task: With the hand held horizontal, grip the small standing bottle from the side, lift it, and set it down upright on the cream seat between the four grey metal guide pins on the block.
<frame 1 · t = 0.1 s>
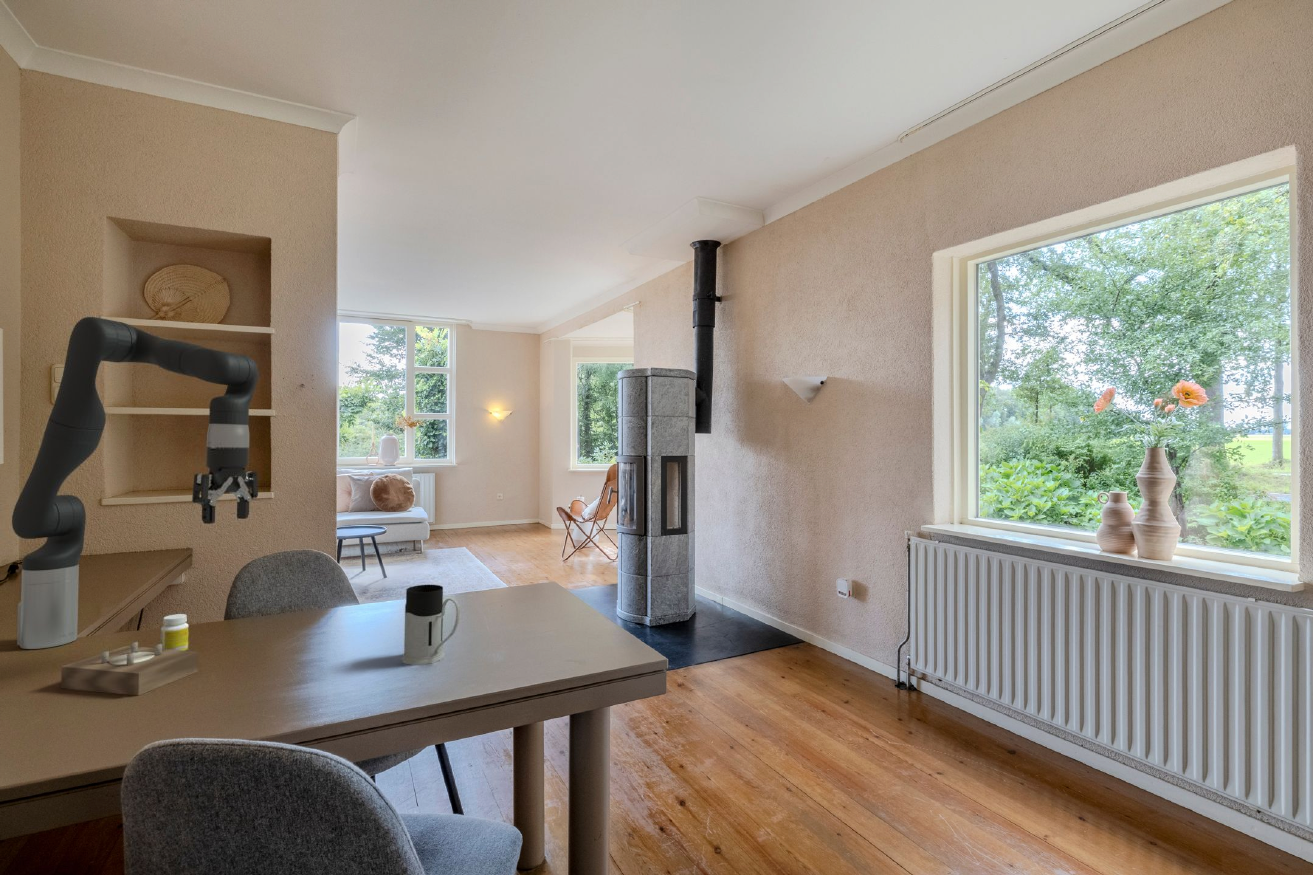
hand: (226, 520, 133), 29 cm above the table, fingers open, 8 cm apart
supplement bottle: (174, 656, 134), on the table
glass holder: (432, 660, 133), on the table
seat block: (131, 679, 120), on the table
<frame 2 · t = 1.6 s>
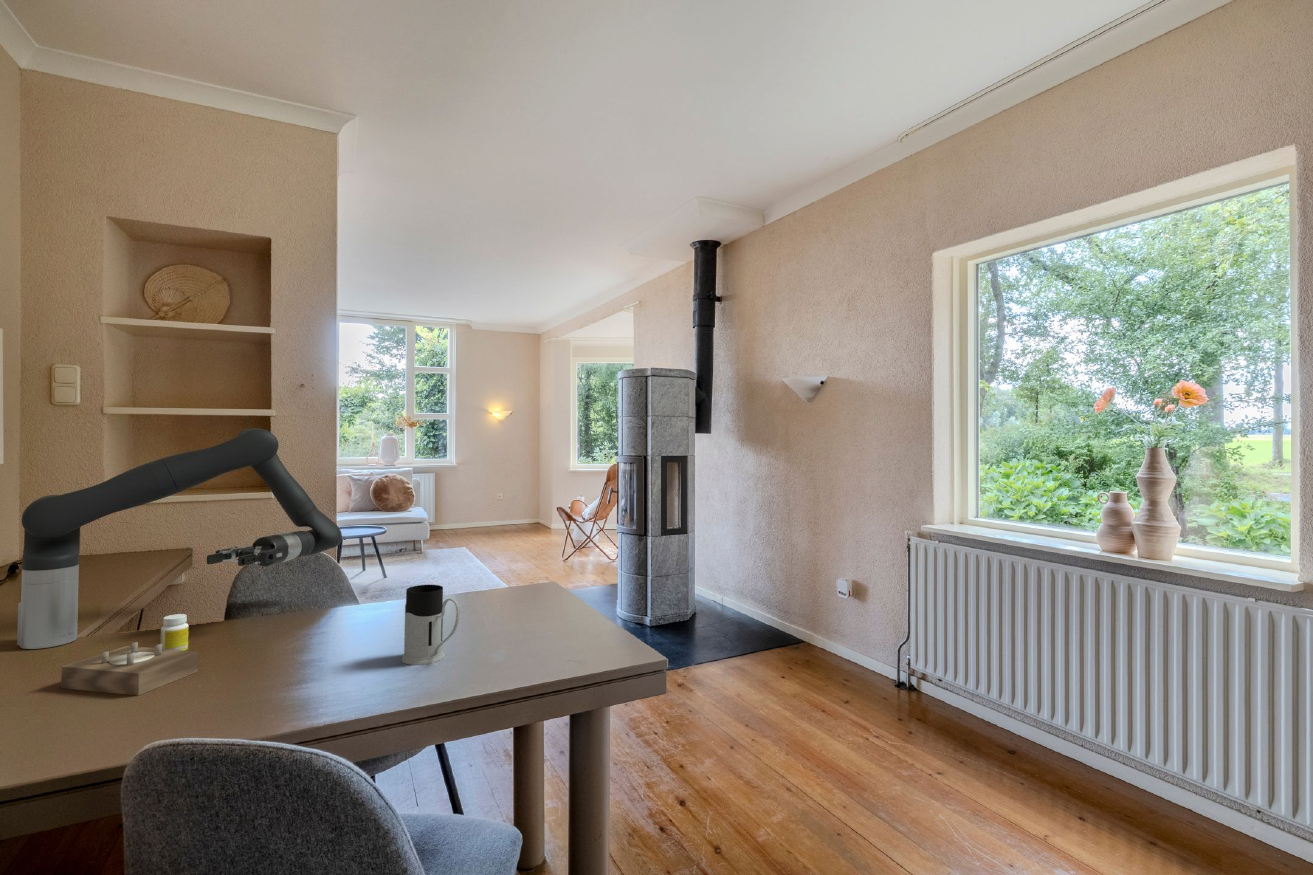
hand: (223, 560, 145), 18 cm above the table, fingers open, 8 cm apart
nothing on the table moved.
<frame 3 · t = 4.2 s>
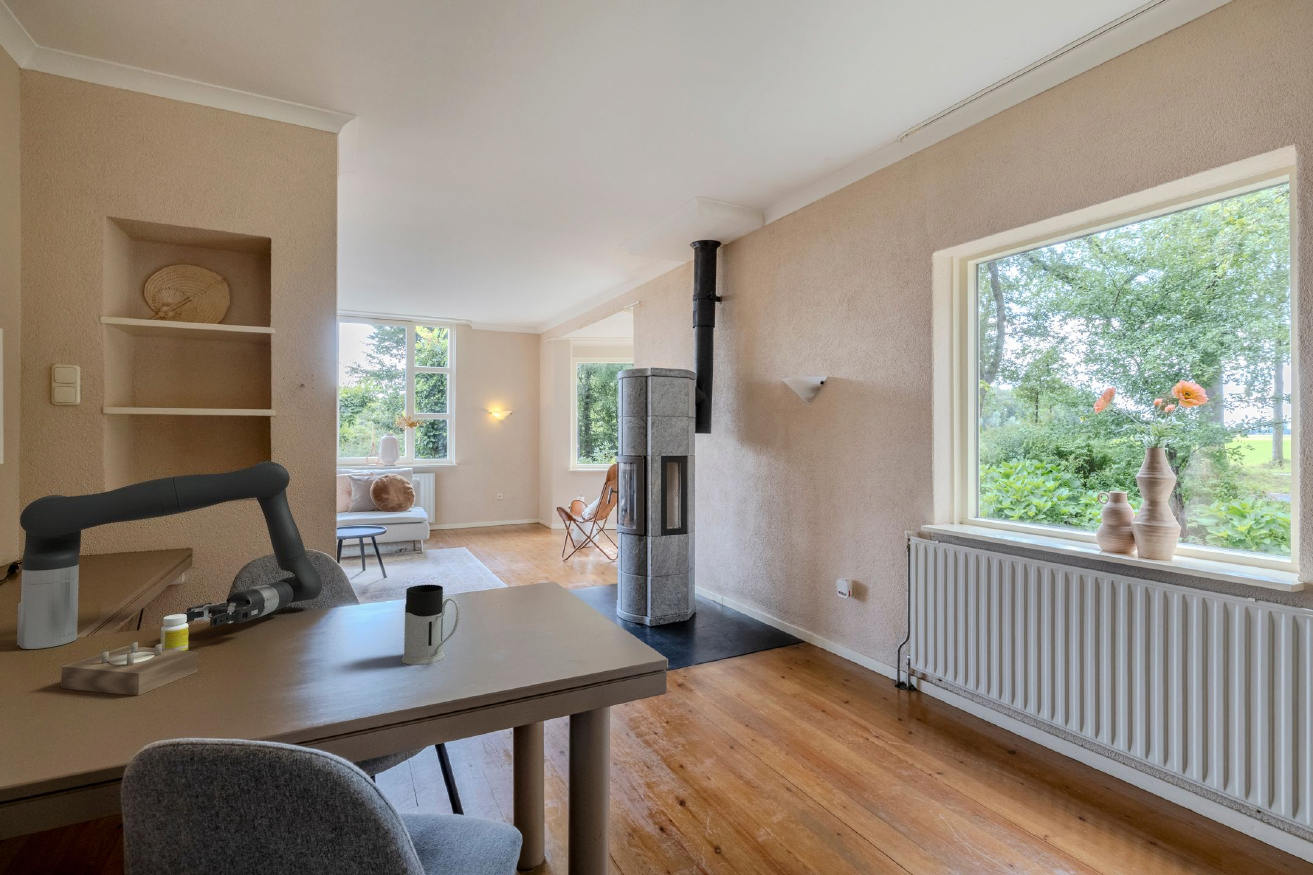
hand: (194, 621, 138), 6 cm above the table, fingers open, 8 cm apart
nothing on the table moved.
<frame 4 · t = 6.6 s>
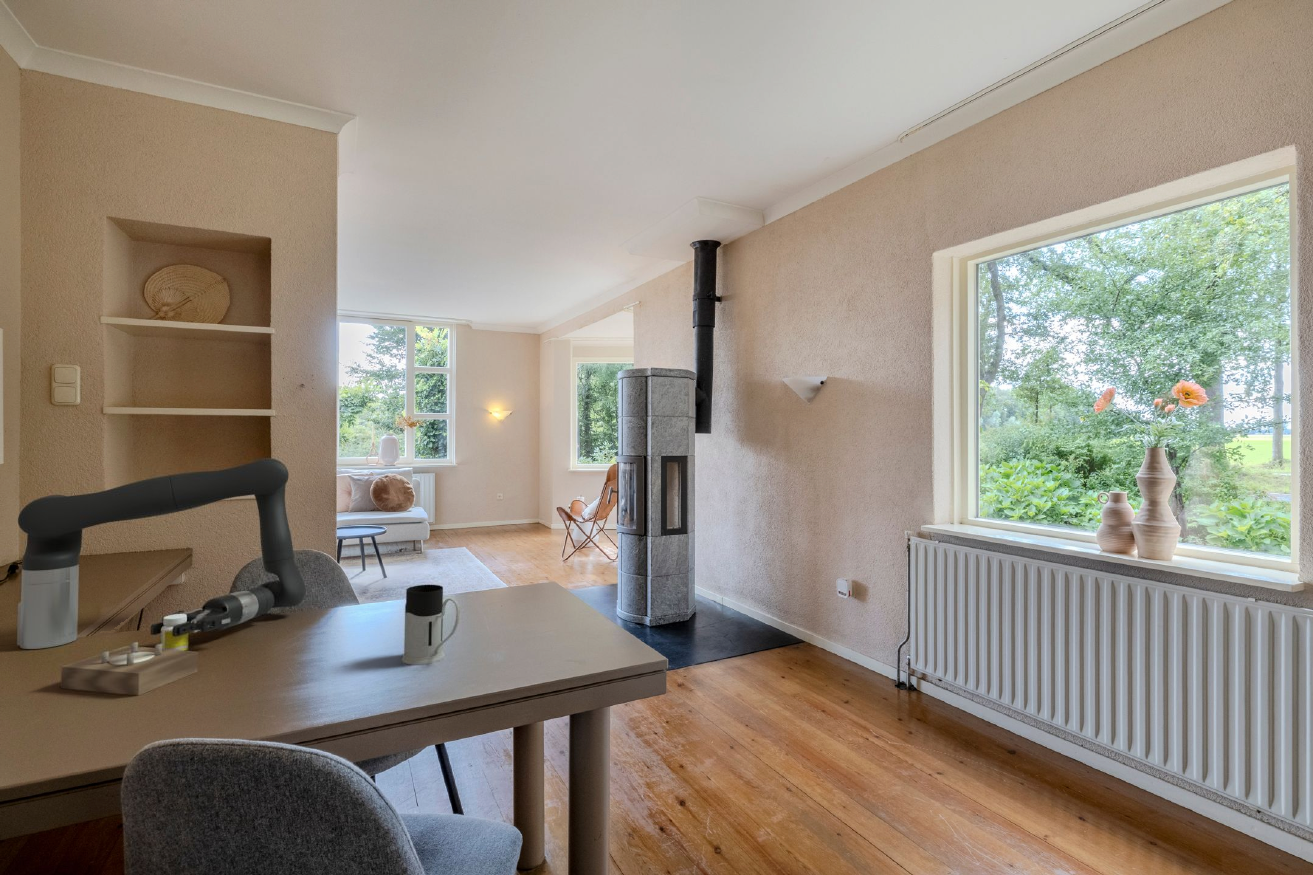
hand: (163, 630, 131), 6 cm above the table, fingers closed on supplement bottle, 4 cm apart
supplement bottle: (174, 656, 134), on the table, touching gripper
everything else where it was.
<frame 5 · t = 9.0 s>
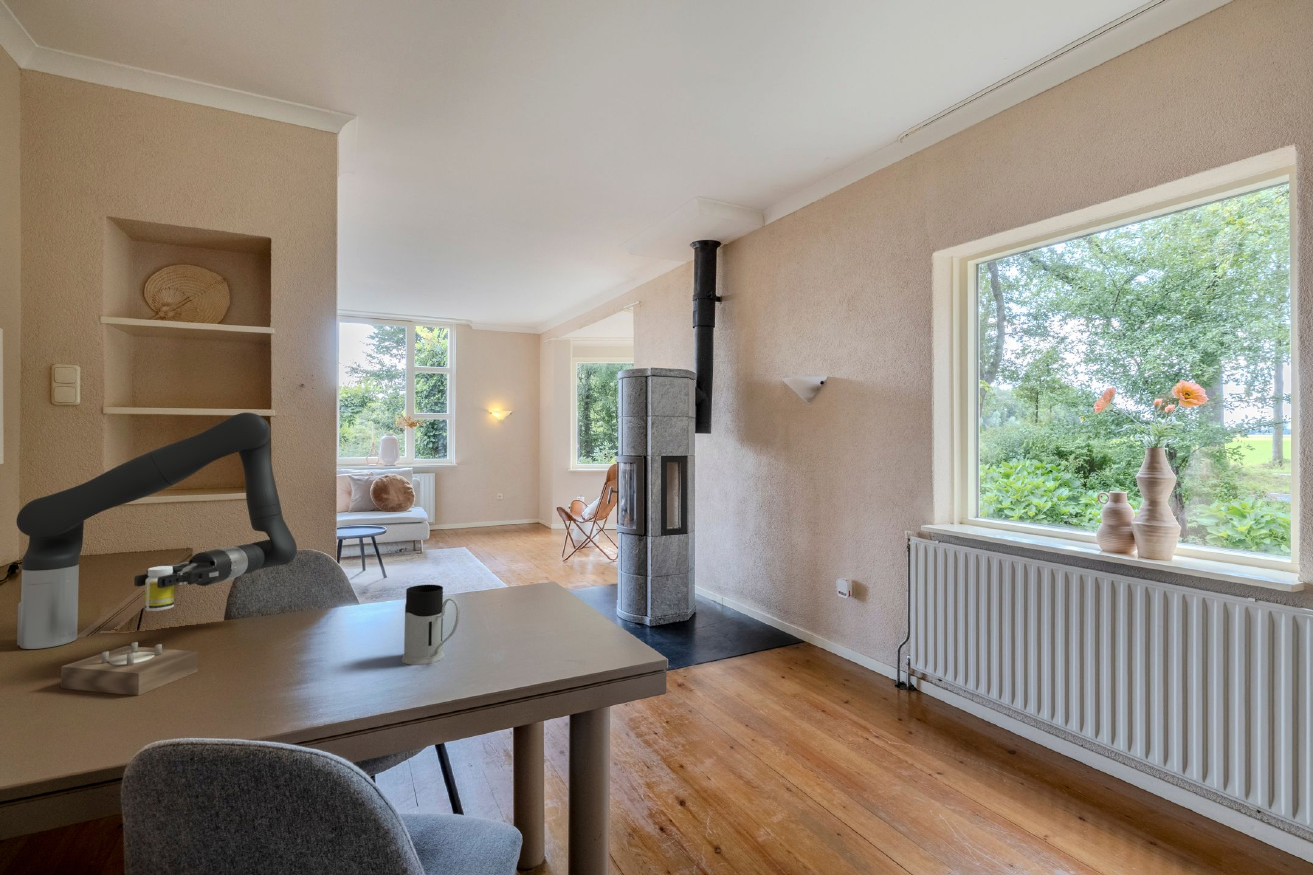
hand: (147, 582, 125), 18 cm above the table, fingers closed on supplement bottle, 4 cm apart
supplement bottle: (159, 609, 128), point 11 cm above the table, touching gripper
everything else where it was.
when the fingers open (12 cm above the table, at t = 11.7 s): supplement bottle drops 1 cm, resting on seat block.
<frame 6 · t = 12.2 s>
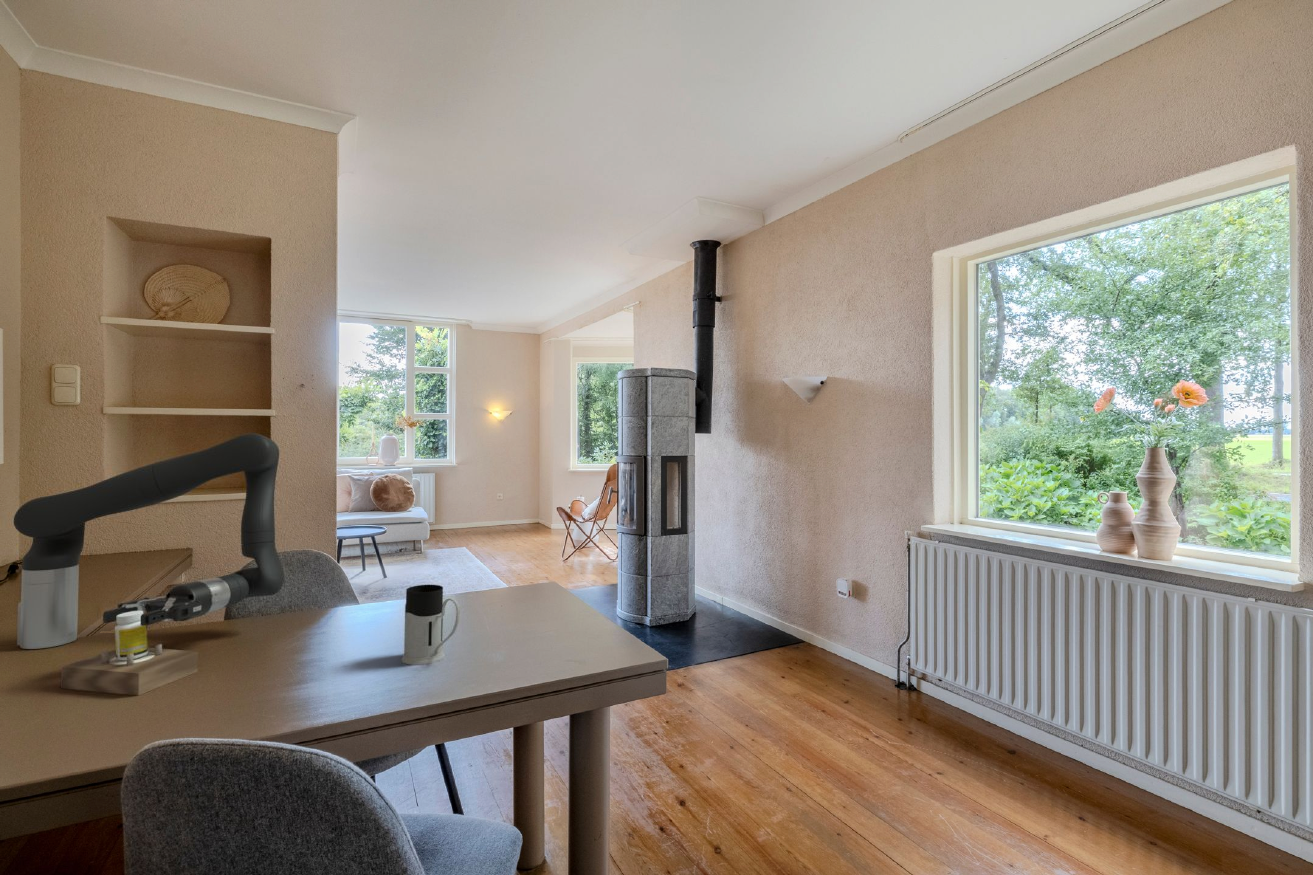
hand: (123, 619, 118), 12 cm above the table, fingers open, 8 cm apart
supplement bottle: (132, 657, 120), point 4 cm above the table, touching seat block
everything else where it was.
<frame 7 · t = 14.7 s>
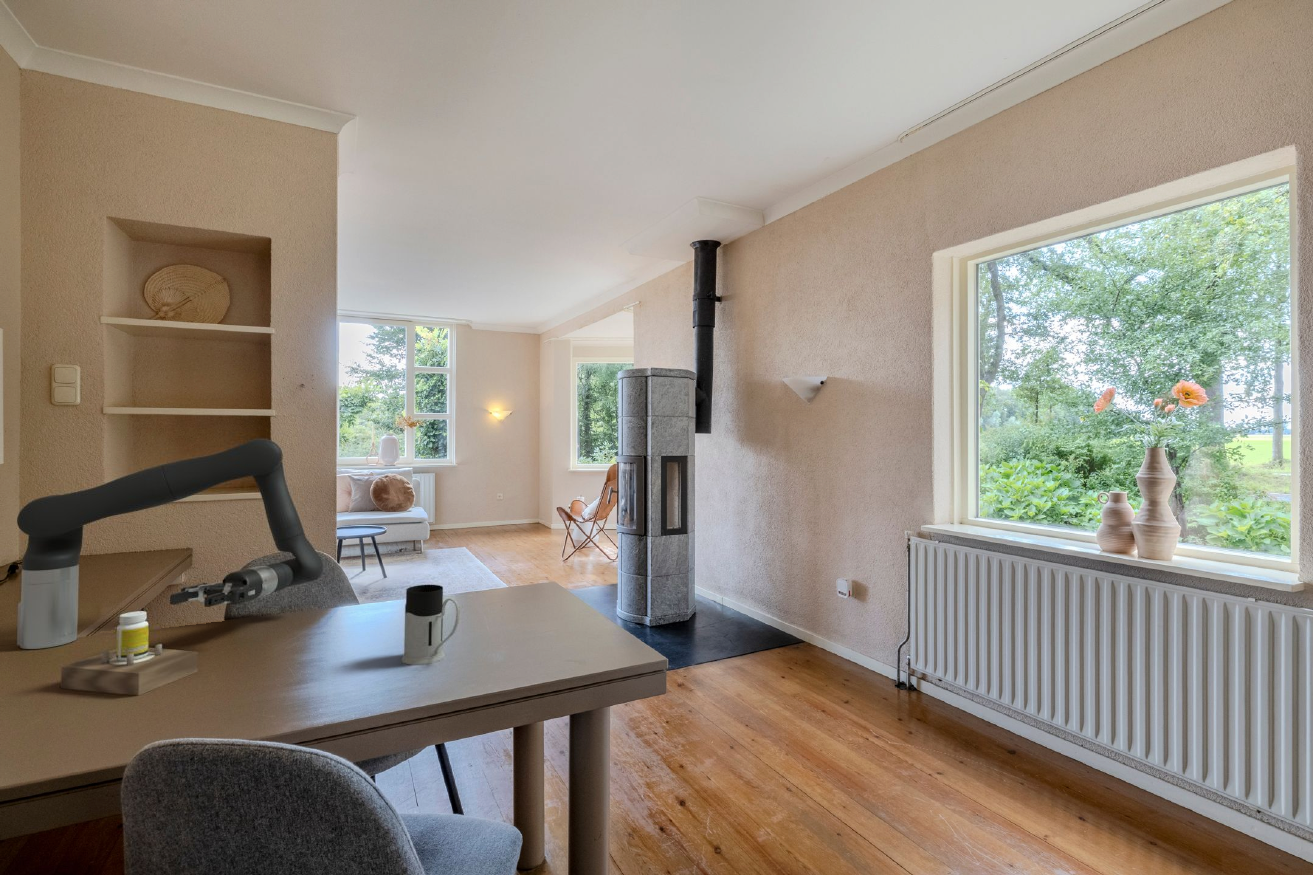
hand: (188, 601, 132), 12 cm above the table, fingers open, 8 cm apart
nothing on the table moved.
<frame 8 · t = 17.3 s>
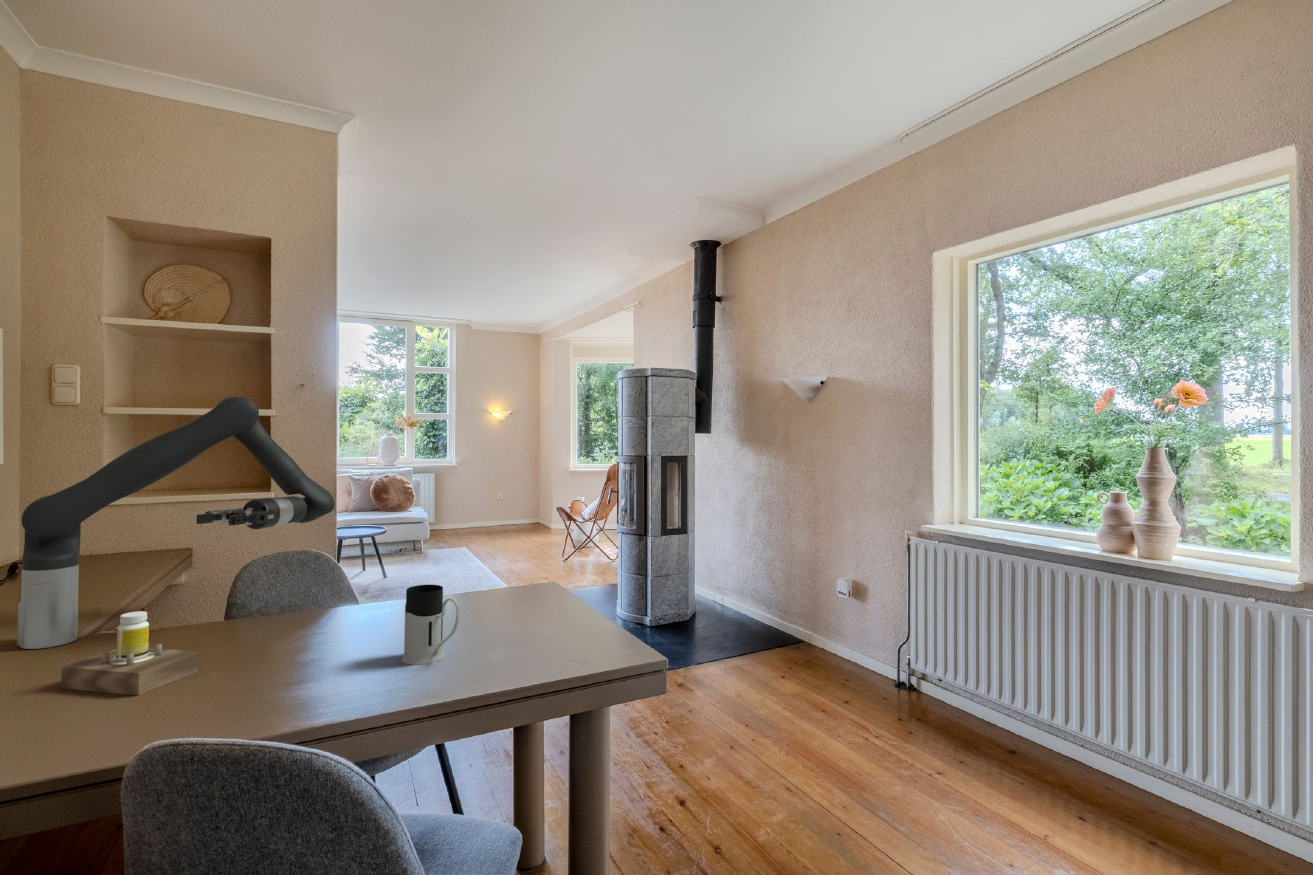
hand: (213, 520, 143), 28 cm above the table, fingers open, 8 cm apart
nothing on the table moved.
at the end: supplement bottle 0.1 cm off-centre on the seat block, point 4.0 cm above the seat block's base; supplement bottle tilted 0°; the gripper is holding nothing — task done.
